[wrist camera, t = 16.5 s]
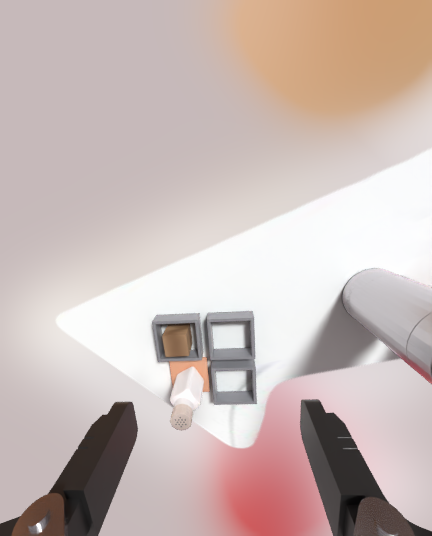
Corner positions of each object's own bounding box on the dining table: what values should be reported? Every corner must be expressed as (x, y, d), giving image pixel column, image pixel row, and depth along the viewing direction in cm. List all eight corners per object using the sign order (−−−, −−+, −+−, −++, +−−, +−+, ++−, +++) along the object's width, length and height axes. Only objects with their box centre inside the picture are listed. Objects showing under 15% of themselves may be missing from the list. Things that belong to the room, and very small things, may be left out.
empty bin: (252, 311, 40) (253, 317, 37) (253, 350, 42) (255, 358, 39) (207, 312, 40) (206, 319, 38) (211, 351, 42) (210, 360, 40)
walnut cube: (189, 322, 41) (186, 334, 37) (192, 342, 42) (188, 355, 38) (168, 324, 41) (162, 336, 37) (171, 343, 42) (165, 357, 38)
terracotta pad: (207, 357, 42) (206, 359, 42) (209, 388, 44) (209, 391, 43) (170, 358, 43) (169, 360, 42) (174, 389, 45) (173, 392, 44)
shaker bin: (253, 358, 42) (255, 367, 40) (255, 393, 44) (256, 403, 41) (211, 359, 42) (211, 368, 40) (214, 393, 44) (214, 404, 42)
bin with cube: (199, 313, 40) (197, 319, 38) (203, 351, 42) (201, 360, 40) (156, 315, 41) (152, 321, 38) (162, 352, 43) (158, 361, 40)
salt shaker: (188, 388, 43) (177, 436, 34) (176, 373, 43) (161, 418, 33) (205, 379, 43) (199, 426, 33) (193, 363, 42) (183, 407, 33)
